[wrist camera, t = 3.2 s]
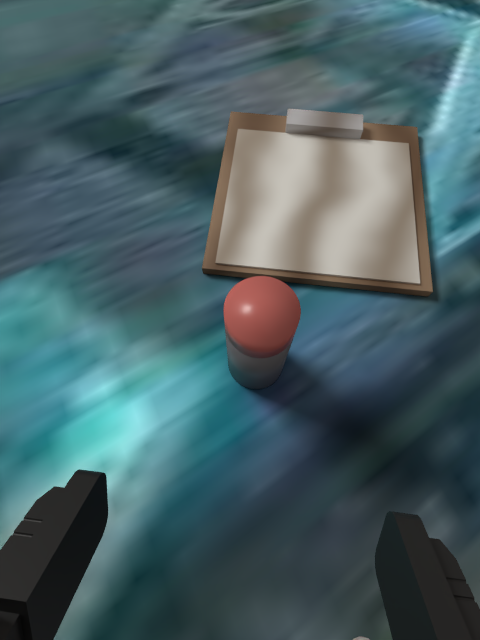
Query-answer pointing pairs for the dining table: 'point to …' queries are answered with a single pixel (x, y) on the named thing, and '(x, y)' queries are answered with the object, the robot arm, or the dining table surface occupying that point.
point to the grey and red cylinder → (259, 329)
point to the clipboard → (321, 203)
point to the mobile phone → (361, 638)
